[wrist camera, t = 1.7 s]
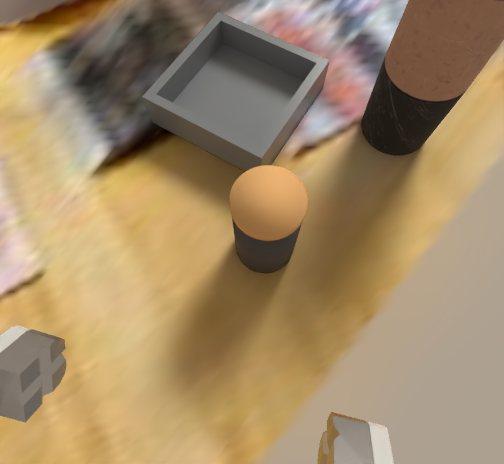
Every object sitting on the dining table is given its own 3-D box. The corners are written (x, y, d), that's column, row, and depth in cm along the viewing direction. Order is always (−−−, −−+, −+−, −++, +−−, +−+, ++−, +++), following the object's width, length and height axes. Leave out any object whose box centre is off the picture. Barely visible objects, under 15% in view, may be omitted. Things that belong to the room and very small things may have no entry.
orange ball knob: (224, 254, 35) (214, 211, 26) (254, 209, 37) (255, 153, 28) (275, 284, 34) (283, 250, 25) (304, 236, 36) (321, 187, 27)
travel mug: (394, 170, 39) (526, -21, 20) (344, 123, 41) (420, -89, 22) (443, 133, 40) (607, -77, 22) (393, 89, 42) (501, -135, 24)
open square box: (152, 122, 41) (142, 96, 37) (221, 41, 45) (218, 11, 42) (260, 179, 38) (261, 158, 35) (322, 88, 43) (329, 60, 39)
